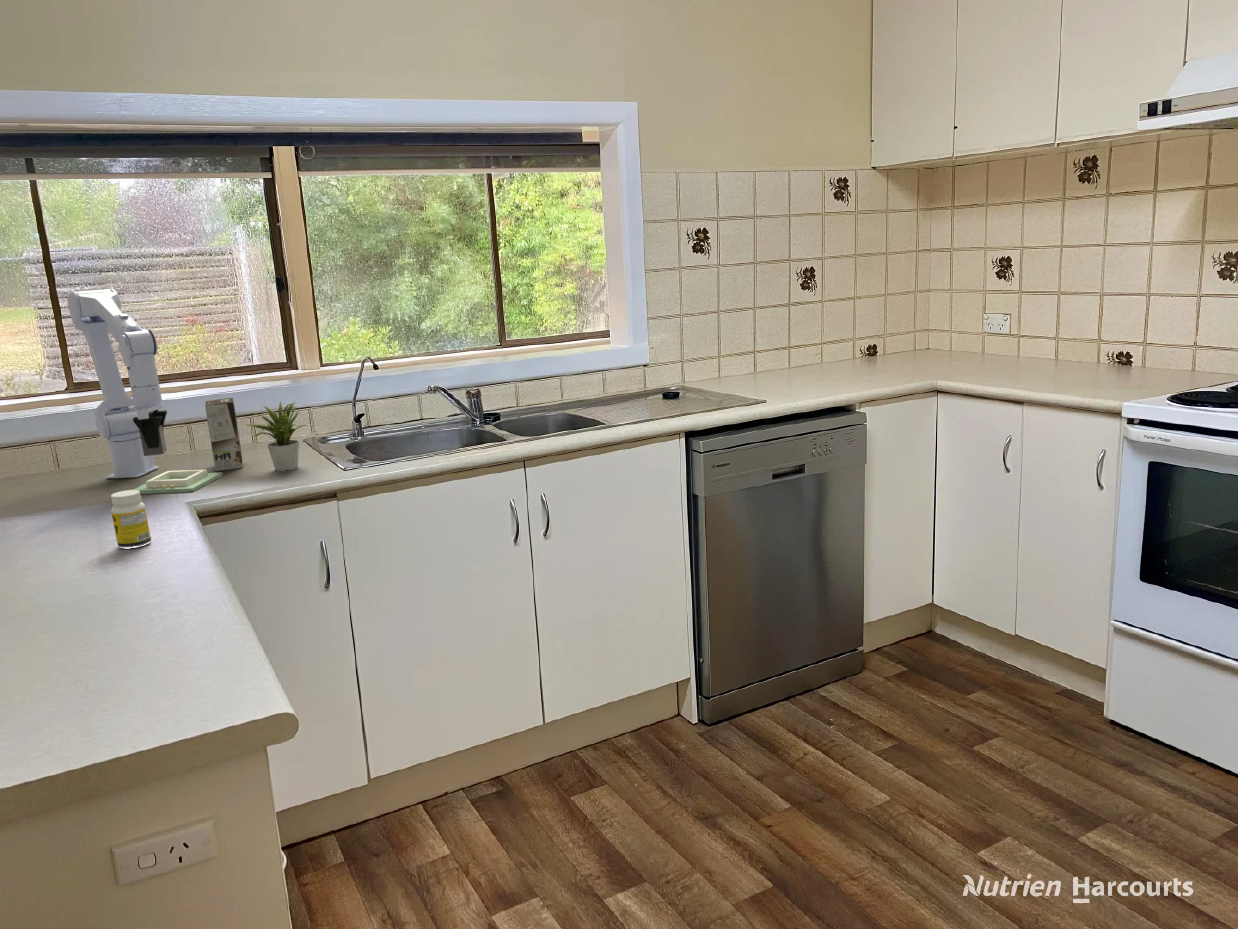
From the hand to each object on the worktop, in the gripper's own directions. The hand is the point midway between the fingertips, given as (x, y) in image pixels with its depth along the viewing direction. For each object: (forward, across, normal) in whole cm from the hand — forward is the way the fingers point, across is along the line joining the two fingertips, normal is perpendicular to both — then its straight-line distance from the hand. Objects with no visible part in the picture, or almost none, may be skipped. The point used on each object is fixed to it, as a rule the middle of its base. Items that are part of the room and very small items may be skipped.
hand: (155, 445), depth 211 cm
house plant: (+10, -6, +26) cm, 29 cm away
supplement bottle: (+10, +46, +3) cm, 48 cm away
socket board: (+10, 0, +3) cm, 10 cm away
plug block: (+2, 0, 0) cm, 2 cm away
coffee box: (+10, -15, +12) cm, 22 cm away
